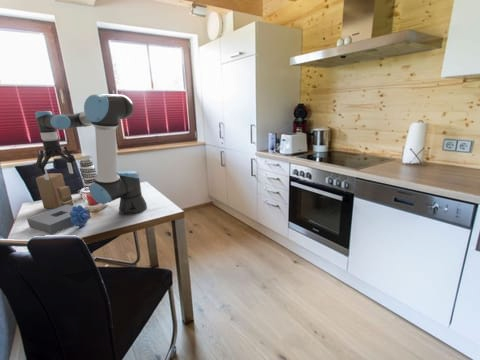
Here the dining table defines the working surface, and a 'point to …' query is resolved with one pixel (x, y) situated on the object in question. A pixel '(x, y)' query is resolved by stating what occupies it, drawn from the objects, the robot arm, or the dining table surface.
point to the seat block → (53, 219)
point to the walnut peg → (65, 195)
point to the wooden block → (50, 189)
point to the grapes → (78, 216)
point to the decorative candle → (87, 171)
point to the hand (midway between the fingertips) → (59, 176)
